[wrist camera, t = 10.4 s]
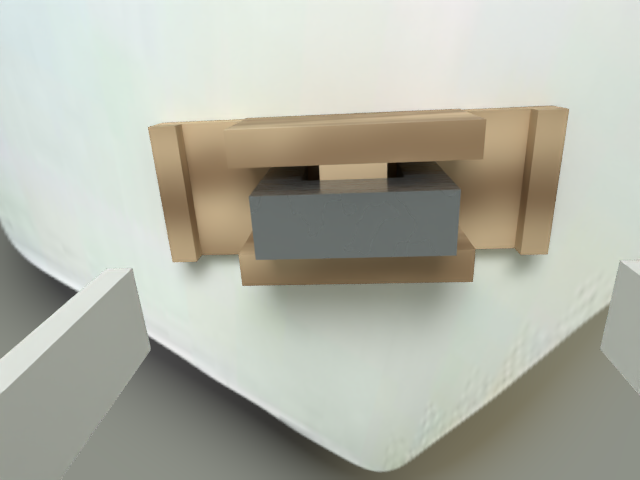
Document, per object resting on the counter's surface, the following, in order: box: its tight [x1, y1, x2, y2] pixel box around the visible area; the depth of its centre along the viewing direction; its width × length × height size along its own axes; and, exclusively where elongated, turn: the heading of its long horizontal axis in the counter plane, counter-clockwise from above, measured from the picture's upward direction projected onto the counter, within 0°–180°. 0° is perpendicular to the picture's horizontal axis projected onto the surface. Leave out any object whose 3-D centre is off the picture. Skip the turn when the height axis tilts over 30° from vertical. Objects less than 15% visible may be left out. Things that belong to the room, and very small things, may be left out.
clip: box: [249, 161, 461, 260], centre depth 23 cm, size 3×9×6 cm, turn 93°
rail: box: [148, 106, 569, 286], centre depth 24 cm, size 8×22×5 cm, turn 93°
